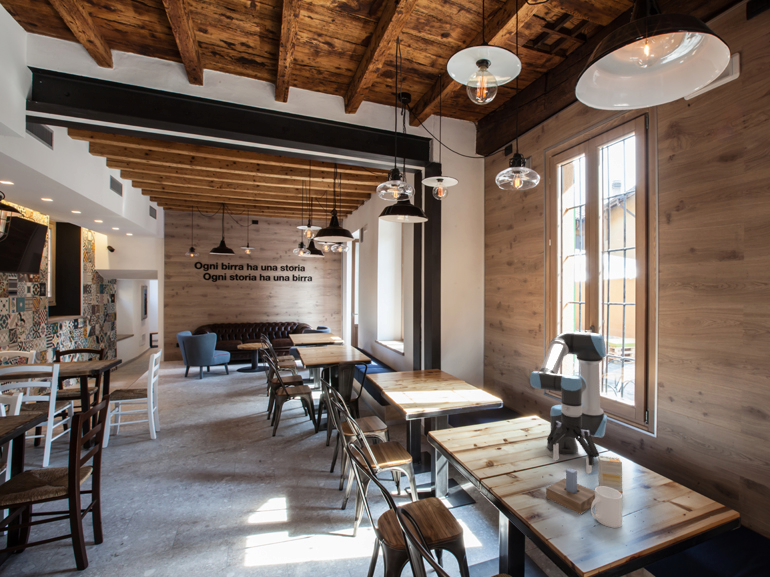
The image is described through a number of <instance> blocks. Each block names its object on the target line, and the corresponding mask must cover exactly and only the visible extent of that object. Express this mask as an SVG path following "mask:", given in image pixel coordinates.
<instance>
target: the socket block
mask: <svg viewBox="0 0 770 577" xmlns="http://www.w3.org/2000/svg"><path fill="white" fill-rule="evenodd" d="M545 496H546V497H545V499H546V498H547V499H549V501H552V502H554V503H557V504H558V505H561V506H563V507H565V508H566V509H569V510H570V511H573V512H575V513H576V514H577V513H578V514H579V515H582V514H583V513H585V512H586V511H588V510H589V509H591V505H592V502H593V500H594V499H595V490H593V489H591V488H588V487H586V486H584V485H582V484H580V483H577V493H576V494H573V493H570V492H568V491H566V477H564V478H562V479H560V480H557V481H556V482H554V483H552V484H551V485H549V486H547V487H546V488H545Z"/></svg>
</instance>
